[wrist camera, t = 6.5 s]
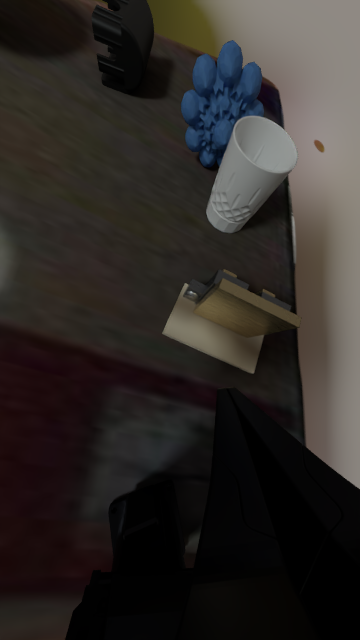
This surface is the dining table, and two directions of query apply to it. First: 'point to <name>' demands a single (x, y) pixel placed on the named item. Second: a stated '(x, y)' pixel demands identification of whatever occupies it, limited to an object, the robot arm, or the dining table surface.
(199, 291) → the grey two-prong bracket
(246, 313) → the tan notched block
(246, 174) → the white cup
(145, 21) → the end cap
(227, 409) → the robot arm
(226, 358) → the birch board
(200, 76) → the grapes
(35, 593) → the dining table surface
